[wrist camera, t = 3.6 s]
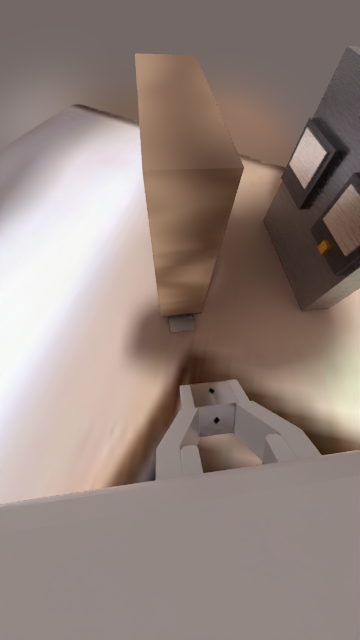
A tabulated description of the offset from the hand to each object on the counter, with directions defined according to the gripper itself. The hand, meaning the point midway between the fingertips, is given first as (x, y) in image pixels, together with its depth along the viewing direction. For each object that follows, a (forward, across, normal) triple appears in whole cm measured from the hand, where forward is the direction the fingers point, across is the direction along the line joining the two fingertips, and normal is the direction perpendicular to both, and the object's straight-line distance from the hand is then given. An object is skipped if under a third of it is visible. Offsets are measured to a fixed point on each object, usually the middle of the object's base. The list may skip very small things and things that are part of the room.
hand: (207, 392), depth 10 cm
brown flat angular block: (+15, 0, -5) cm, 16 cm away
